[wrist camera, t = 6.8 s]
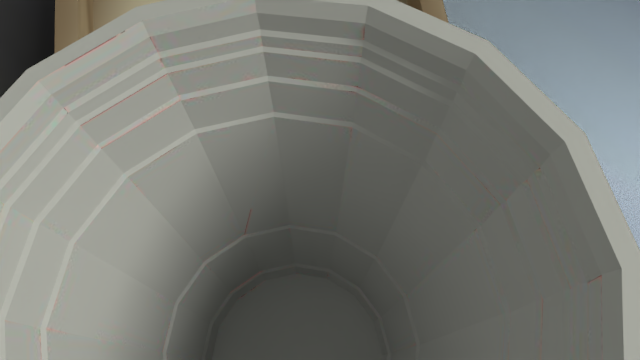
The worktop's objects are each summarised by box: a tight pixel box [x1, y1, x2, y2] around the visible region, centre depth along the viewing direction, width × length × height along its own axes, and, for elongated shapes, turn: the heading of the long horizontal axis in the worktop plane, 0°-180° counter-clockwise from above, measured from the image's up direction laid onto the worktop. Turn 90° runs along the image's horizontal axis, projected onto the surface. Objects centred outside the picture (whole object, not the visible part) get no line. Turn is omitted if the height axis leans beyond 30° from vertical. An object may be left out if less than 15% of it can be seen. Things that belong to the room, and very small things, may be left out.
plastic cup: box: [0, 0, 640, 360], centre depth 14 cm, size 11×11×12 cm
